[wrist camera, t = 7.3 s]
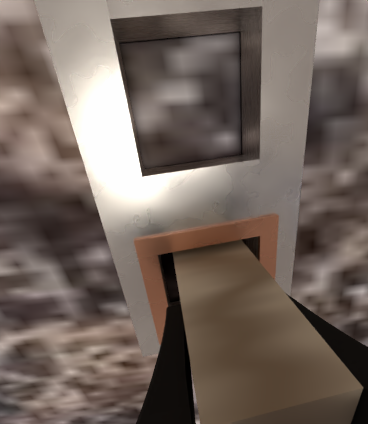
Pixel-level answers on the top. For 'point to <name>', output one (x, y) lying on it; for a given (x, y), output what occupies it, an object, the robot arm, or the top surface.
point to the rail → (194, 171)
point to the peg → (255, 345)
